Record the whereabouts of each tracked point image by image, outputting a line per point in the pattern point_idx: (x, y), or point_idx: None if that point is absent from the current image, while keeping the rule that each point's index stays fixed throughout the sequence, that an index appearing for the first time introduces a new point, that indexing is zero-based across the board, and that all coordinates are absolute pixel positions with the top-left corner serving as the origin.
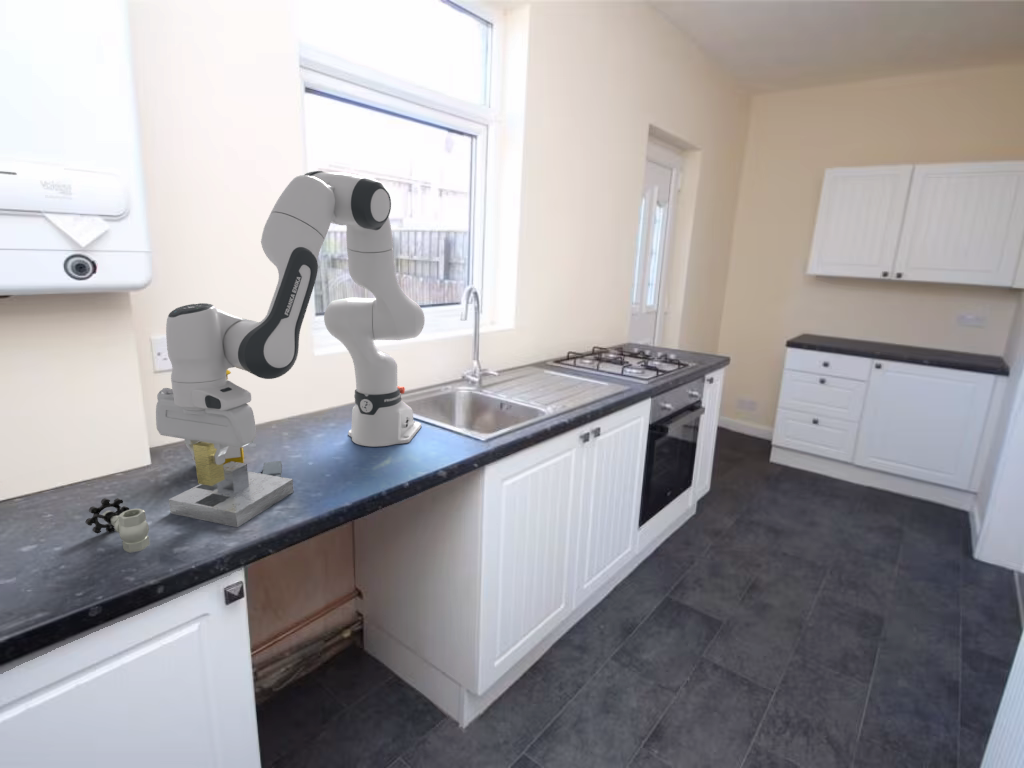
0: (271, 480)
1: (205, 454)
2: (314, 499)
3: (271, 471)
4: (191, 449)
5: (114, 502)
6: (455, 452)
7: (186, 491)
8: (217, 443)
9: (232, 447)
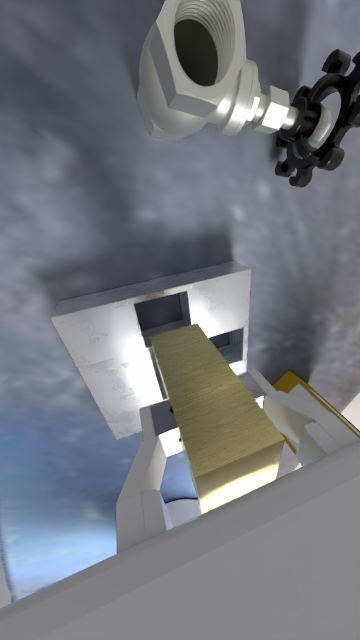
0: None
1: (192, 423)
2: (57, 428)
3: None
4: (283, 403)
5: (336, 145)
6: (41, 567)
7: (246, 309)
8: (102, 571)
9: None
